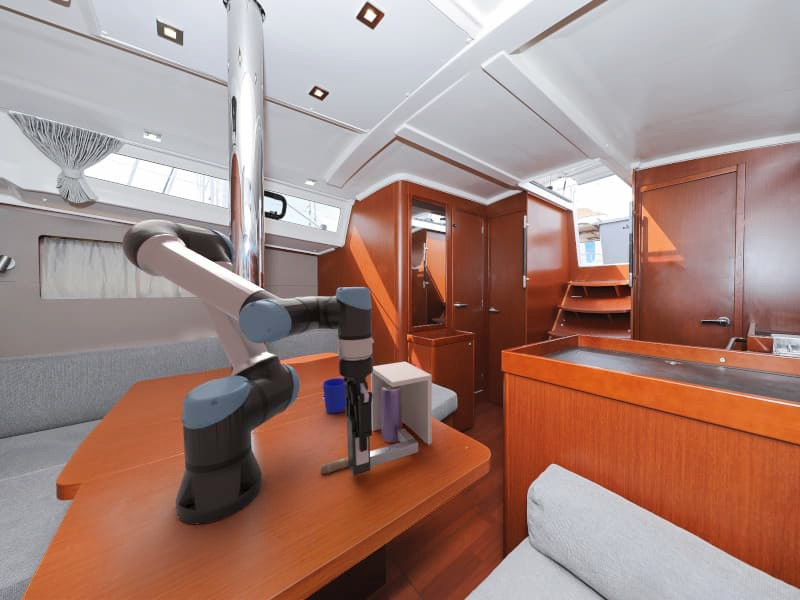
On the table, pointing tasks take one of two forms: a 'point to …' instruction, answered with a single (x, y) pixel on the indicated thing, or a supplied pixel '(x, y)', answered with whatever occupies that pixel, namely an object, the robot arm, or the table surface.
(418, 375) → the corner shelf
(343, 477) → the table surface
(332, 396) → the mug
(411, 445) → the grey angled piece
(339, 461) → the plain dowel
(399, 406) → the beverage can
